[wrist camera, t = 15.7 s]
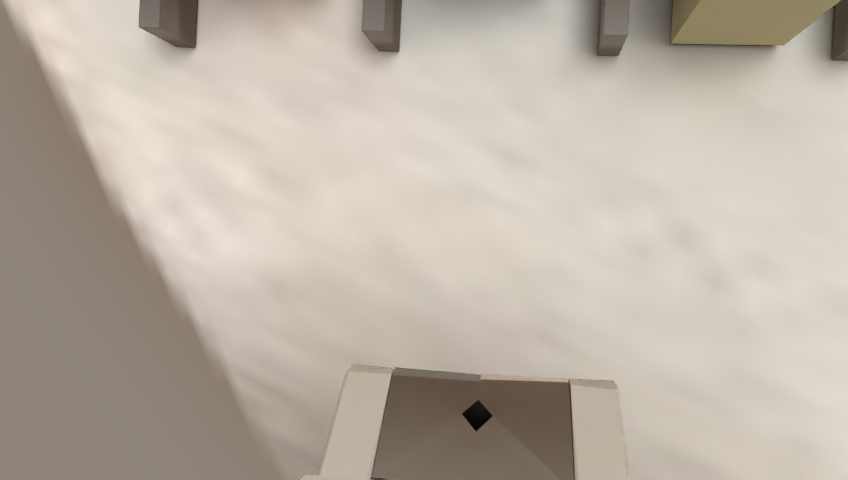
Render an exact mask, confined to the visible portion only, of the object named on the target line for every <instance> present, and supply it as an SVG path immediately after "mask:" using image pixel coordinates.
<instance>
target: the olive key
mask: <svg viewBox="0 0 848 480" xmlns="http://www.w3.org/2000/svg"><path fill="white" fill-rule="evenodd" d="M840 1H841V0H673V13H672V31H671V43H675V44H732V45H785V44H786V43H787V42H788V41H790V40H791V39H792V38H793V37H795V36H796V35H797V34H799V33H800V32H801V31H802V30H804V29H805V28H806V27H808V26H809V25H810V24H811V23H813V22H814V21H815V20H817V19H818V18H819V17H820V16H822V15H823V14H824V13H826V12H827V11H828V10H829V9H831V8H832V7H833V6H834V5H836V4H837V3H838V2H840Z"/></svg>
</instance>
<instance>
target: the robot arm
mask: <svg viewBox="0 0 848 480" xmlns="http://www.w3.org/2000/svg"><path fill="white" fill-rule="evenodd" d="M299 480H629V472H628V464H627V457H626V449H625V441H624V433H623V425H622V418H621V410H620V402H619V394H618V387H617V386H616V384H615V383H614V381H606V380H585V379H569V380H567V379H556V378H538V377H519V376H501V375H482V374H481V375H478V374H466V373H454V372H443V371H431V370H419V369H408V368H396V367H395V369H394V368H384V367H373V366H362V365H351V367H350V368H349V370H348V371H347V373H346V375H345V378H344V382H343V385H342V389H341V393H340V396H339V400H338V404H337V407H336V411H335V414H334V418H333V422H332V425H331V429H330V433H329V436H328V440H327V443H326V447H325V451H324V454H323V458H322V462H321V465H320V469H319V472H318V475H303V476H302V477H301V478H300V479H299Z"/></svg>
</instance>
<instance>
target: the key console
mask: <svg viewBox="0 0 848 480" xmlns="http://www.w3.org/2000/svg"><path fill="white" fill-rule="evenodd" d="M401 2H402V0H363V19H362V31H363V32H364V34H365V35H366V36H367V37H368V38H369V39H370V41H371V42H372V43H373V44H374V45H375V46H376V48H377V49H378V50H379V51H399V42H400V22H401ZM629 2H630V0H600V11H599V30H598V49H597V55H619V53H620V51H621V49H622V47H623V44H624V42H625V40H626V38H627V35H628V20H629ZM196 15H197V0H140V11H139V27H140V28H142V29H144V30H146V31H147V32H149V33H151V34H153V35H155V36H157V37H159V38H161V39H163V40H165V41H166V42H168V43H170V44H172V45H174V46H176V47H195V37H196ZM832 60H848V0H841V1H840V2H838V3H837V4H836V5H835V20H834V38H833V56H832Z"/></svg>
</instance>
